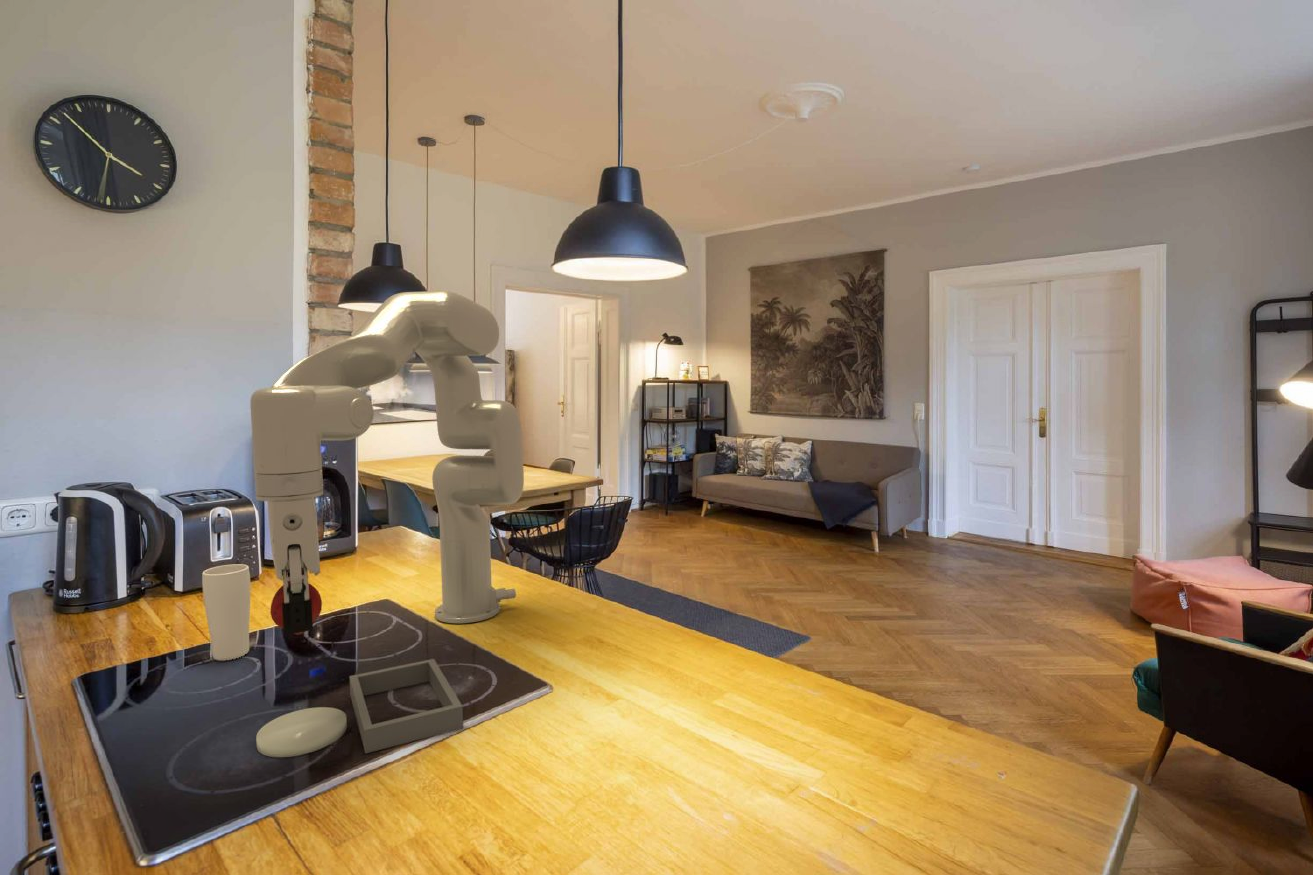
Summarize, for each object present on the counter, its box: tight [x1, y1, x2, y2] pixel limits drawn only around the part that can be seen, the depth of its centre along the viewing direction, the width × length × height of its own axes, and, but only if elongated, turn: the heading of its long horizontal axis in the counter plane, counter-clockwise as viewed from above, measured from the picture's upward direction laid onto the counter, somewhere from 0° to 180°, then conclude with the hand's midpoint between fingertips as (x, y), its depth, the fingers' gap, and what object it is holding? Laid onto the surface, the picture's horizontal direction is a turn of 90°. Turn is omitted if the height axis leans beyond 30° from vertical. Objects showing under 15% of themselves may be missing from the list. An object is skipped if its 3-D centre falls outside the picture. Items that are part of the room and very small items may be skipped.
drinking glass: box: [201, 563, 251, 662], centre depth 113 cm, size 7×7×15 cm
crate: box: [348, 658, 464, 754], centre depth 93 cm, size 12×18×3 cm, turn 30°
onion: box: [270, 580, 323, 636], centre depth 86 cm, size 6×6×8 cm
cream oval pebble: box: [255, 706, 348, 758], centre depth 87 cm, size 10×10×1 cm
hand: (297, 622), depth 86 cm, fingers closed on onion, 5 cm apart
